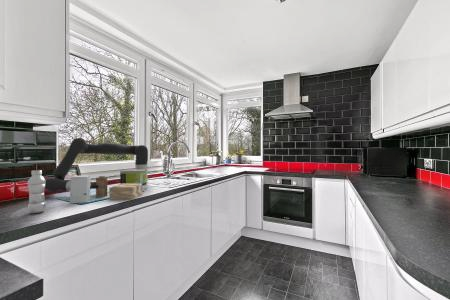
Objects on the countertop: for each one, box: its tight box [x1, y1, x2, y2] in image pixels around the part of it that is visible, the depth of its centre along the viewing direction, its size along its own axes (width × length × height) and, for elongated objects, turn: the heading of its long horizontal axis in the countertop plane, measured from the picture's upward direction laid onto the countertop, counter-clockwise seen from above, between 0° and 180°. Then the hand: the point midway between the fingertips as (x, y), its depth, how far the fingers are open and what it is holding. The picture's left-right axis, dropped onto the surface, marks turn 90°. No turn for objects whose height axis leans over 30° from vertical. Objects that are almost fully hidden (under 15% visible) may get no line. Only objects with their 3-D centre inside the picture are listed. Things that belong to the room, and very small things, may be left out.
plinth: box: [108, 183, 143, 200], centre depth 128 cm, size 14×14×7 cm
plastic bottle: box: [27, 169, 47, 214], centre depth 96 cm, size 6×7×20 cm
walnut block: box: [95, 175, 108, 198], centre depth 129 cm, size 4×4×13 cm
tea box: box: [119, 169, 147, 191], centre depth 148 cm, size 15×10×15 cm
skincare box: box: [69, 175, 91, 204], centre depth 116 cm, size 8×6×15 cm
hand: (102, 185), depth 129 cm, fingers open, 8 cm apart
